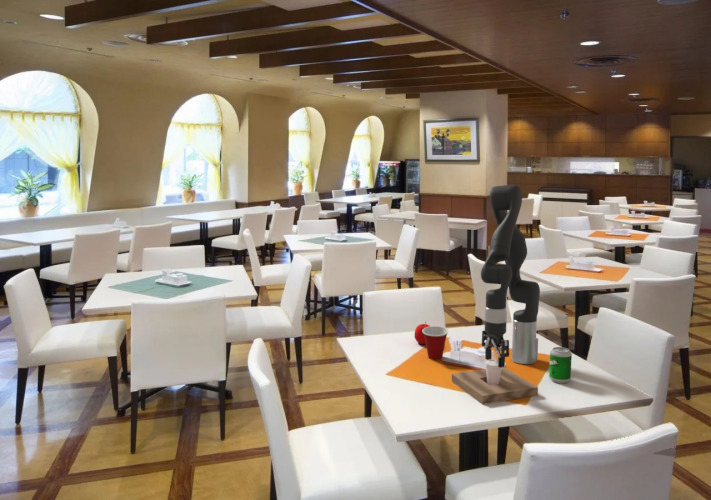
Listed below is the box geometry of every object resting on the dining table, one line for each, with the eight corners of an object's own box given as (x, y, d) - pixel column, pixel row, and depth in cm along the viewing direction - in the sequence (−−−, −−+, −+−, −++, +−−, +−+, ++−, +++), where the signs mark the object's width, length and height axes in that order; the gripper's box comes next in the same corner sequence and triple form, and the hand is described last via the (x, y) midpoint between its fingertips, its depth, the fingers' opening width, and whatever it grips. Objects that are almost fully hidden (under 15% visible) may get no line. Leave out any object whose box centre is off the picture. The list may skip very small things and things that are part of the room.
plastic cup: (418, 360, 245) (419, 332, 243) (425, 352, 255) (426, 325, 253) (444, 363, 241) (445, 334, 239) (450, 355, 251) (451, 327, 249)
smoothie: (502, 392, 211) (503, 354, 209) (484, 390, 213) (485, 353, 210) (501, 385, 218) (503, 348, 215) (483, 384, 219) (484, 347, 217)
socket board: (503, 373, 229) (503, 366, 228) (537, 395, 208) (538, 387, 208) (451, 381, 222) (451, 373, 221) (482, 404, 201) (482, 395, 201)
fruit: (437, 345, 264) (437, 323, 262) (418, 347, 262) (418, 325, 260) (430, 339, 272) (430, 318, 271) (411, 341, 270) (411, 319, 269)
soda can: (570, 378, 224) (571, 347, 222) (570, 385, 217) (572, 353, 215) (549, 375, 226) (550, 345, 224) (548, 382, 219) (550, 351, 217)
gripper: (516, 323, 205) (515, 368, 208) (493, 313, 219) (493, 355, 221) (497, 326, 203) (496, 371, 206) (475, 315, 216) (475, 358, 219)
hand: (494, 363), depth 213 cm, fingers open, 8 cm apart
